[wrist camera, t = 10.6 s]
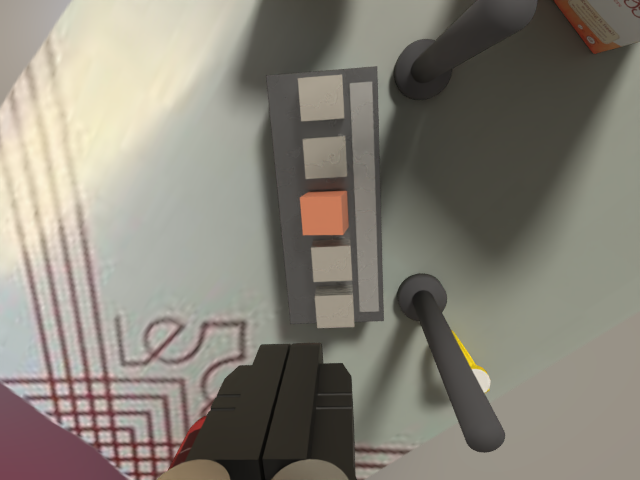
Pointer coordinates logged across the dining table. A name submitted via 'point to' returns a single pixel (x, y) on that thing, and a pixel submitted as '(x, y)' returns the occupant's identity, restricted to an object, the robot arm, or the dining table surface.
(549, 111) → the dining table surface
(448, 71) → the stand
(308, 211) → the breaker paddle
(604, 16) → the cracker box
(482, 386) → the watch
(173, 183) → the dining table surface
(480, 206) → the dining table surface
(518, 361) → the dining table surface
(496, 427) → the stand
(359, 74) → the breaker strip
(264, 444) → the robot arm
